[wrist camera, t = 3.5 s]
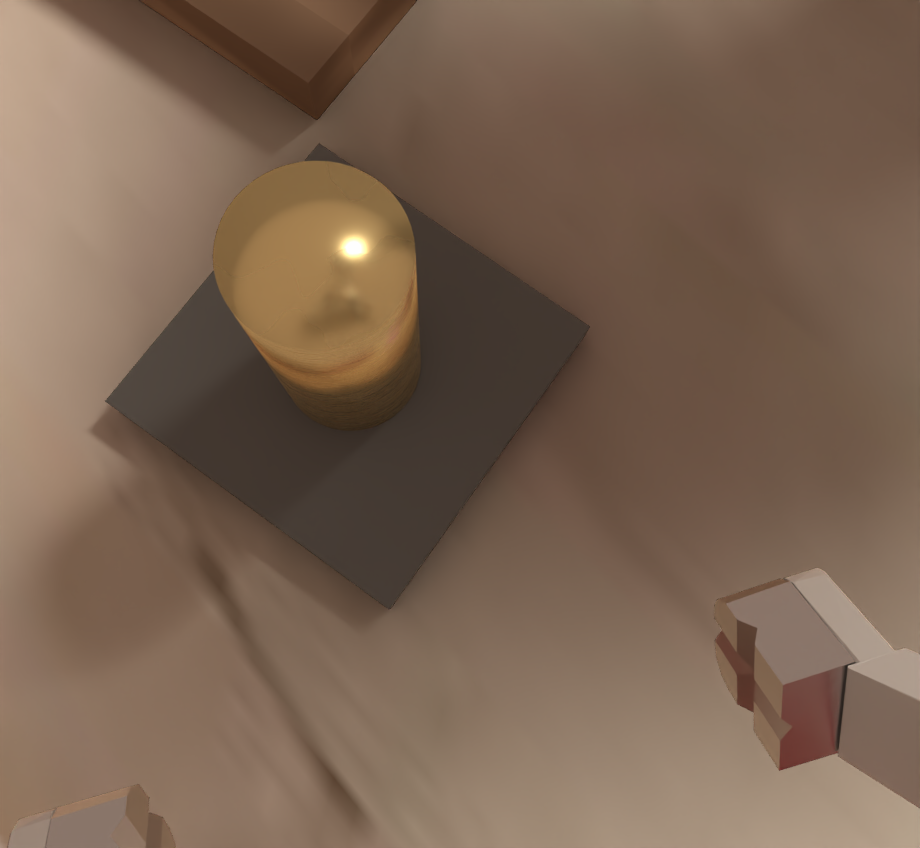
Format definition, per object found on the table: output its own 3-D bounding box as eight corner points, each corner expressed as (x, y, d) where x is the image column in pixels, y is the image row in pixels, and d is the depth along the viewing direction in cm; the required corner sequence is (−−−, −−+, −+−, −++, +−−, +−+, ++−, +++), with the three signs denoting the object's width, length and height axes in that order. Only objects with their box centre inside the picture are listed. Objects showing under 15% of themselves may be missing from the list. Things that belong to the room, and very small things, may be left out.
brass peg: (338, 272, 25) (296, 125, 18) (448, 348, 25) (455, 232, 17) (254, 378, 25) (171, 273, 17) (366, 458, 24) (334, 389, 16)
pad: (323, 159, 27) (318, 143, 26) (583, 336, 26) (589, 326, 25) (117, 409, 25) (104, 401, 24) (390, 609, 24) (388, 609, 23)
